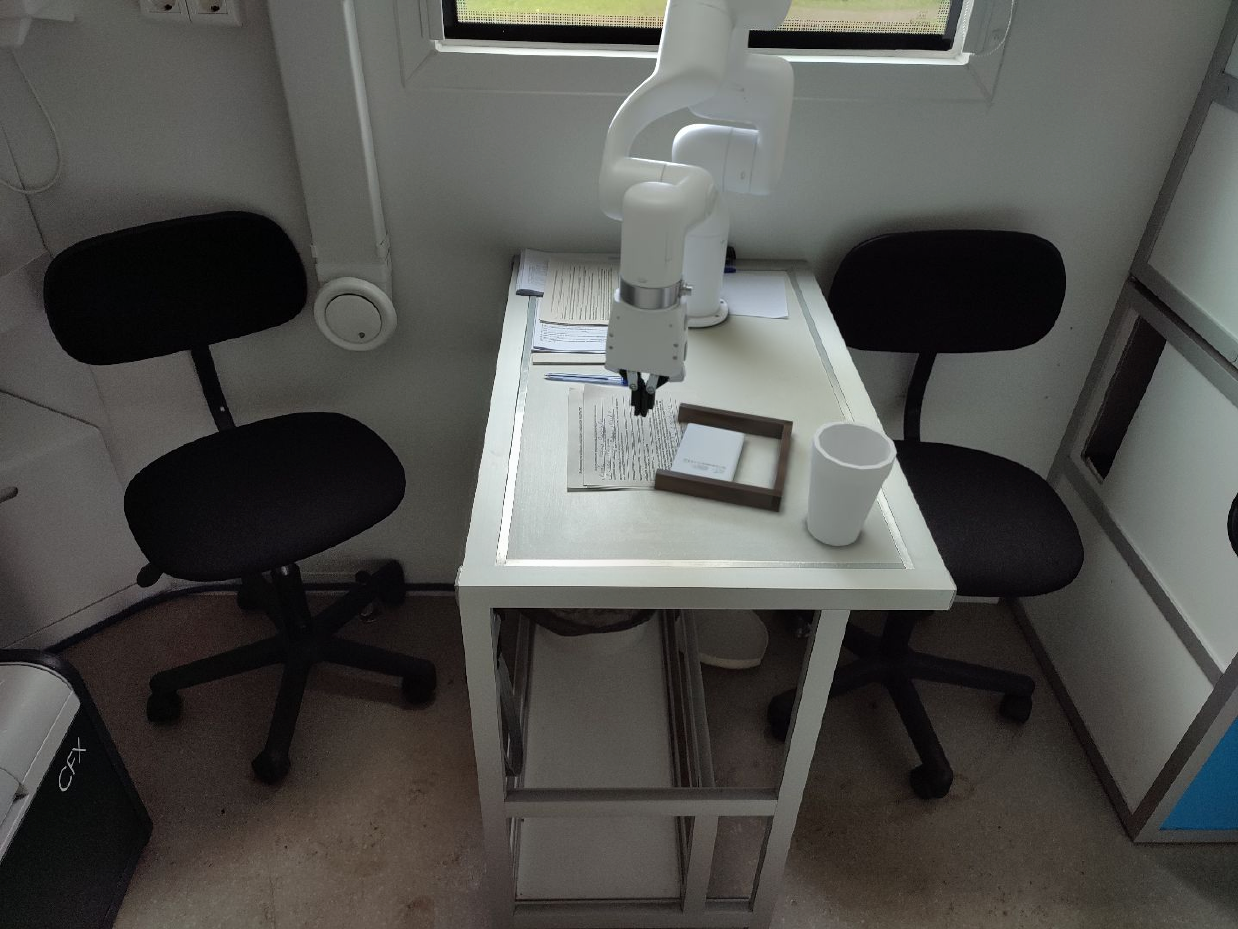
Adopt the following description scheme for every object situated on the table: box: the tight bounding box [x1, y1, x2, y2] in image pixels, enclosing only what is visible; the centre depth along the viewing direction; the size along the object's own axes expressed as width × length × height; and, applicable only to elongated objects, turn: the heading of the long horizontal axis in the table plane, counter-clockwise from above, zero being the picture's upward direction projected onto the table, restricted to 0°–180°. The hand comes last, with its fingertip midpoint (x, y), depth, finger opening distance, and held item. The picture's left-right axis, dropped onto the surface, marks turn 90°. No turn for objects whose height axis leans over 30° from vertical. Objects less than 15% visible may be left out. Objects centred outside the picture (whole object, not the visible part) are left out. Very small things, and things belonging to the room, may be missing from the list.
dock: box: [653, 402, 794, 512], centre depth 116 cm, size 17×16×2 cm
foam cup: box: [806, 420, 898, 547], centre depth 102 cm, size 10×9×13 cm
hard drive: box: [669, 423, 746, 482], centre depth 116 cm, size 2×8×12 cm
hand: (642, 410), depth 116 cm, fingers closed
